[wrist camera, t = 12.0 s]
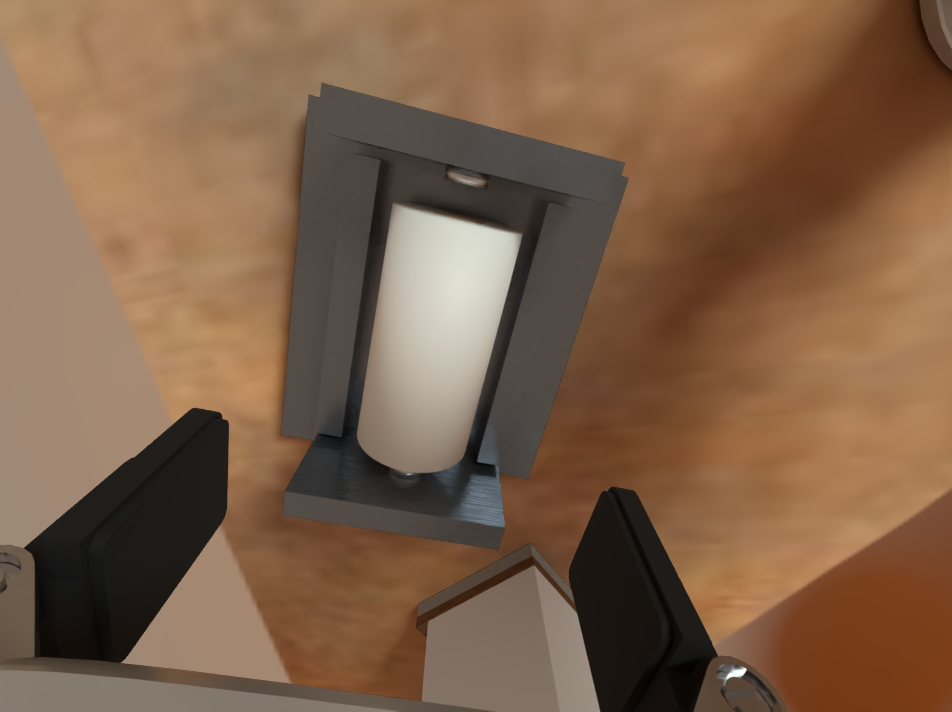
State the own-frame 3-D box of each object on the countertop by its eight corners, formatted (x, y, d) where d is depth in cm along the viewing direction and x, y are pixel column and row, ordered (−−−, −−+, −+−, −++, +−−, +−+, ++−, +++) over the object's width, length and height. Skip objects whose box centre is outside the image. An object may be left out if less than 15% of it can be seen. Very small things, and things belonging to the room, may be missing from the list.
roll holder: (619, 177, 24) (688, 179, 17) (525, 465, 31) (543, 557, 24) (318, 99, 22) (245, 62, 15) (289, 422, 29) (230, 507, 22)
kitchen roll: (525, 227, 23) (520, 238, 17) (472, 426, 27) (455, 486, 22) (413, 198, 23) (373, 201, 18) (378, 400, 28) (337, 453, 22)
